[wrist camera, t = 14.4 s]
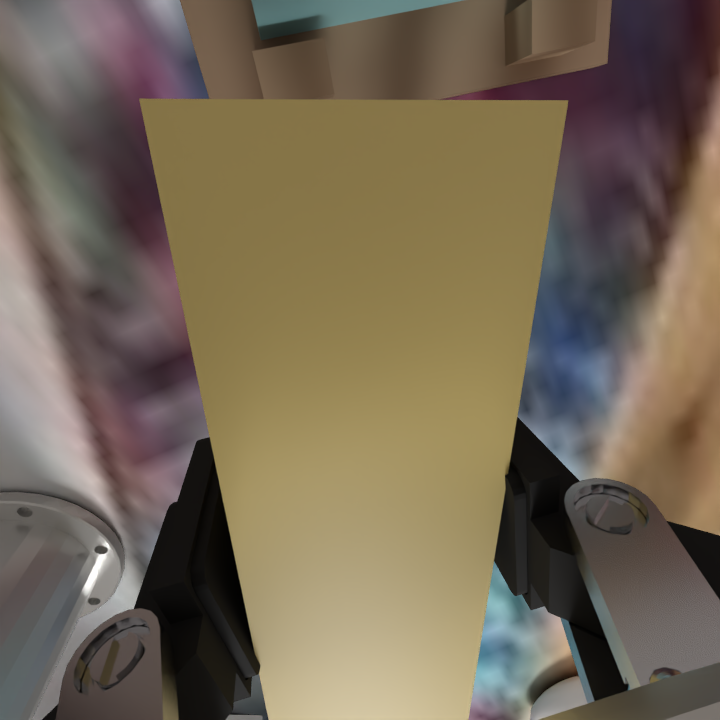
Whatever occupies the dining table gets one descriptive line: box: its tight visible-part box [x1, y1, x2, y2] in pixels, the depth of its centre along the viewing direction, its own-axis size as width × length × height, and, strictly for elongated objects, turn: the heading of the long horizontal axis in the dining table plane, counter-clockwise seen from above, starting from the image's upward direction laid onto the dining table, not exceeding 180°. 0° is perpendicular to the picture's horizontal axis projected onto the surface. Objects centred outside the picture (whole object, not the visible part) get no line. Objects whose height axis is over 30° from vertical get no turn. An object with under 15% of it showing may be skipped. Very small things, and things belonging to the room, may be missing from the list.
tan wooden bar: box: [139, 99, 568, 720], centre depth 9 cm, size 4×14×4 cm, turn 1°
